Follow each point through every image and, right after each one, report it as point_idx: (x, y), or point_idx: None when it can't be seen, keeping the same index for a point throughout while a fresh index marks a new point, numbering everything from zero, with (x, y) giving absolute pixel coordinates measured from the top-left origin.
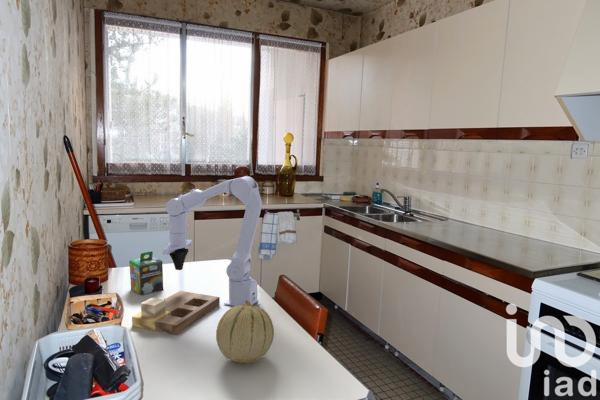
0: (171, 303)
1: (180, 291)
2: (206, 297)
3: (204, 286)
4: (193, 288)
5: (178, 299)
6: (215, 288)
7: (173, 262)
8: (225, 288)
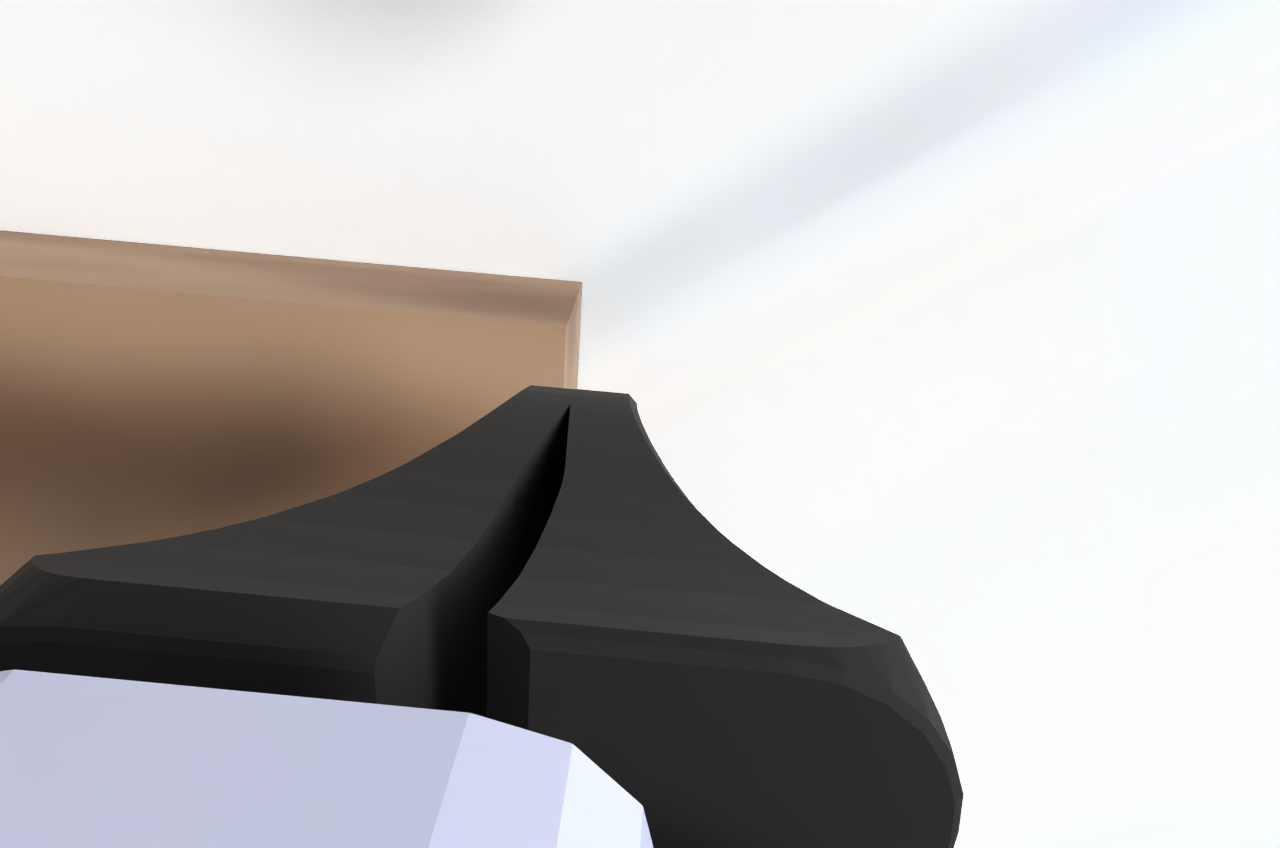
0: (70, 475)
1: (537, 351)
2: None
3: (1198, 368)
4: (1078, 244)
5: (241, 487)
6: (1119, 550)
7: (430, 456)
8: (1135, 663)
